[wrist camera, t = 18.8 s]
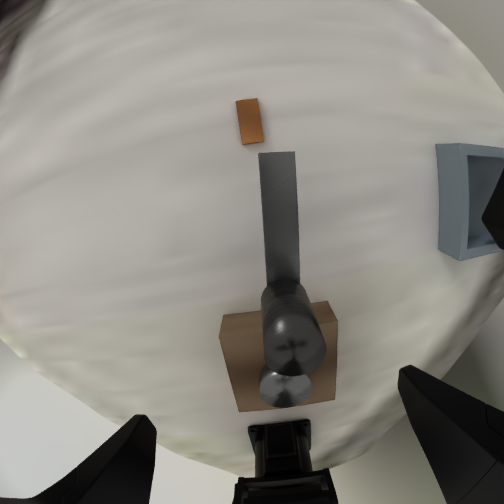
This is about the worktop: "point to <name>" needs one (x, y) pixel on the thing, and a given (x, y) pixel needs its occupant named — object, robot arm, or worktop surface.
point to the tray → (466, 197)
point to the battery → (496, 213)
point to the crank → (285, 291)
